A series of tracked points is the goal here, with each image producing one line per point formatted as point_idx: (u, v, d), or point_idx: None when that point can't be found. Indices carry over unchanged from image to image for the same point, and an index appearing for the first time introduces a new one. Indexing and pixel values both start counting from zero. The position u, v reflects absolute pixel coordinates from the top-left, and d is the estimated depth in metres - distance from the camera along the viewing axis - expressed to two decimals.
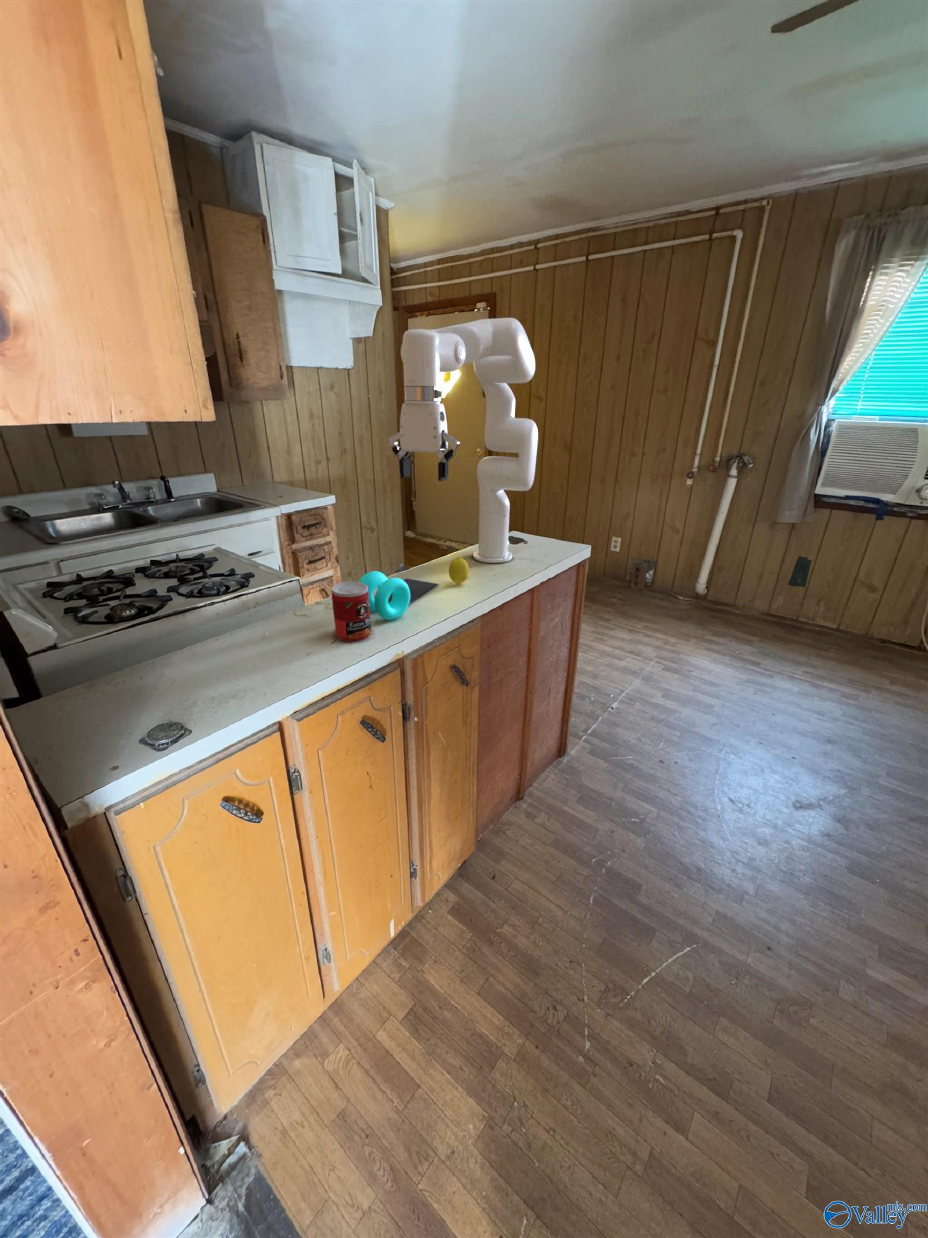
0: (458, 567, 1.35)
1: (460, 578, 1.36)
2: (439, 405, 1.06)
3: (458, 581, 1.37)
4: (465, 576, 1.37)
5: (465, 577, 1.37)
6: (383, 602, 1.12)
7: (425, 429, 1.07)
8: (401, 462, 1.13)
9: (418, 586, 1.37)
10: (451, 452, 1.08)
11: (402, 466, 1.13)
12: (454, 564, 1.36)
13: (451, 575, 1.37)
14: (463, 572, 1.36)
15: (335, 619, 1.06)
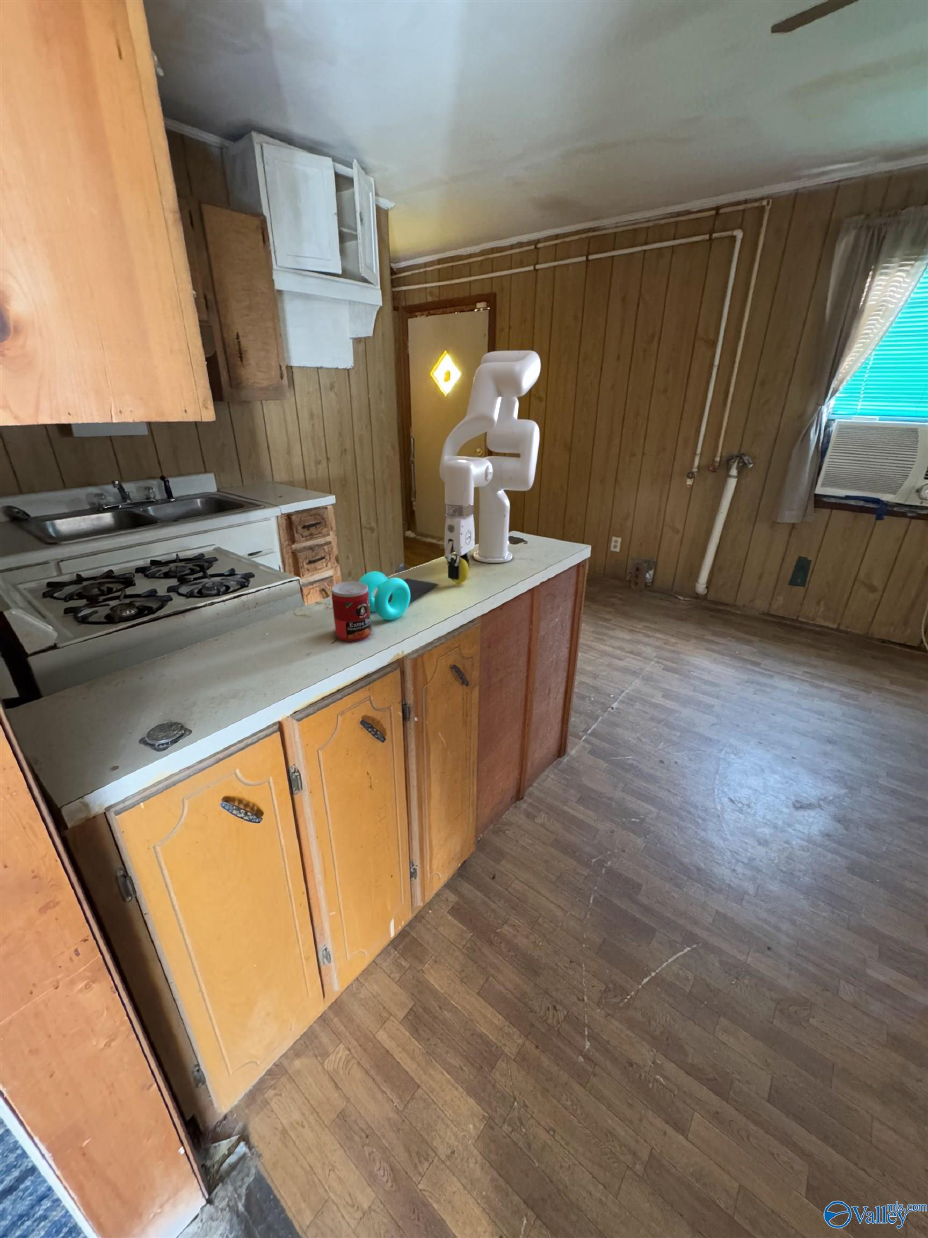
0: None
1: (460, 578, 1.36)
2: (450, 519, 1.29)
3: (458, 581, 1.37)
4: (465, 576, 1.37)
5: (465, 577, 1.37)
6: (383, 602, 1.12)
7: None
8: None
9: (418, 586, 1.37)
10: None
11: None
12: None
13: None
14: (463, 572, 1.36)
15: (335, 619, 1.06)
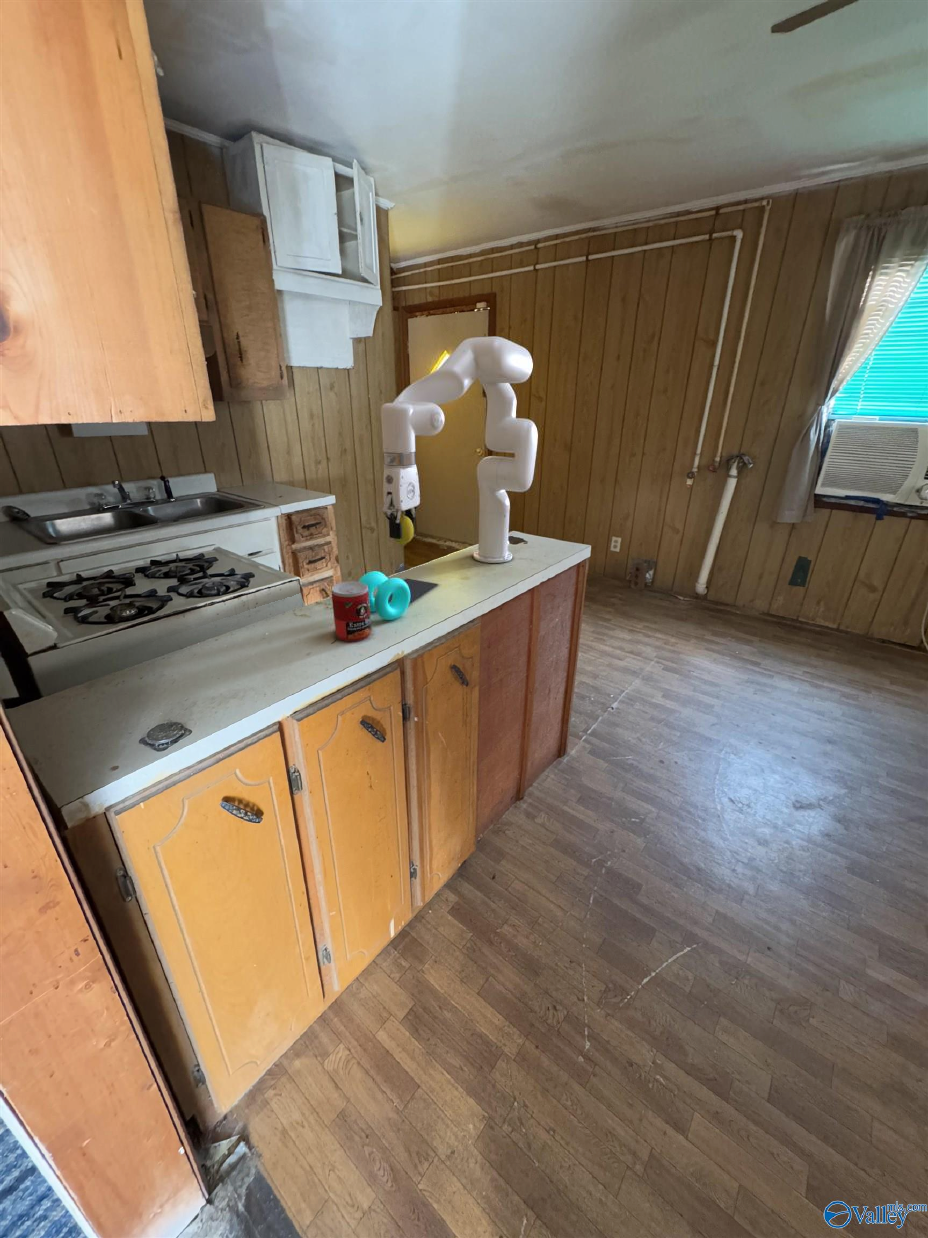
0: (401, 525, 1.22)
1: (403, 537, 1.23)
2: (388, 469, 1.15)
3: (401, 541, 1.24)
4: (409, 535, 1.24)
5: (409, 537, 1.24)
6: (383, 602, 1.12)
7: None
8: None
9: (418, 586, 1.37)
10: (385, 514, 1.19)
11: None
12: None
13: None
14: (406, 531, 1.23)
15: (335, 619, 1.06)
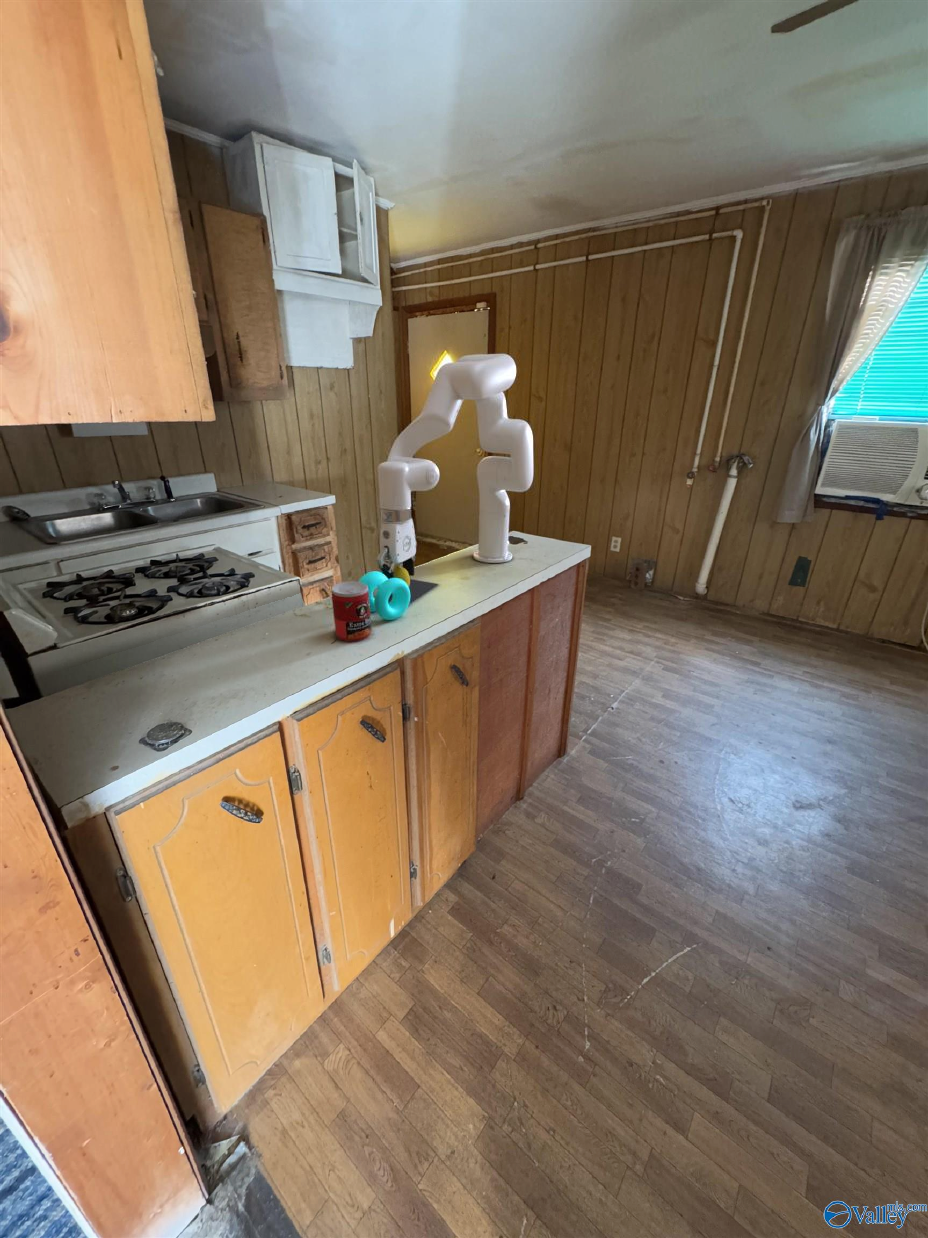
0: (397, 576, 1.27)
1: None
2: (384, 525, 1.20)
3: None
4: None
5: None
6: (383, 602, 1.12)
7: None
8: None
9: (418, 586, 1.37)
10: None
11: (403, 565, 1.33)
12: None
13: None
14: None
15: (335, 619, 1.06)
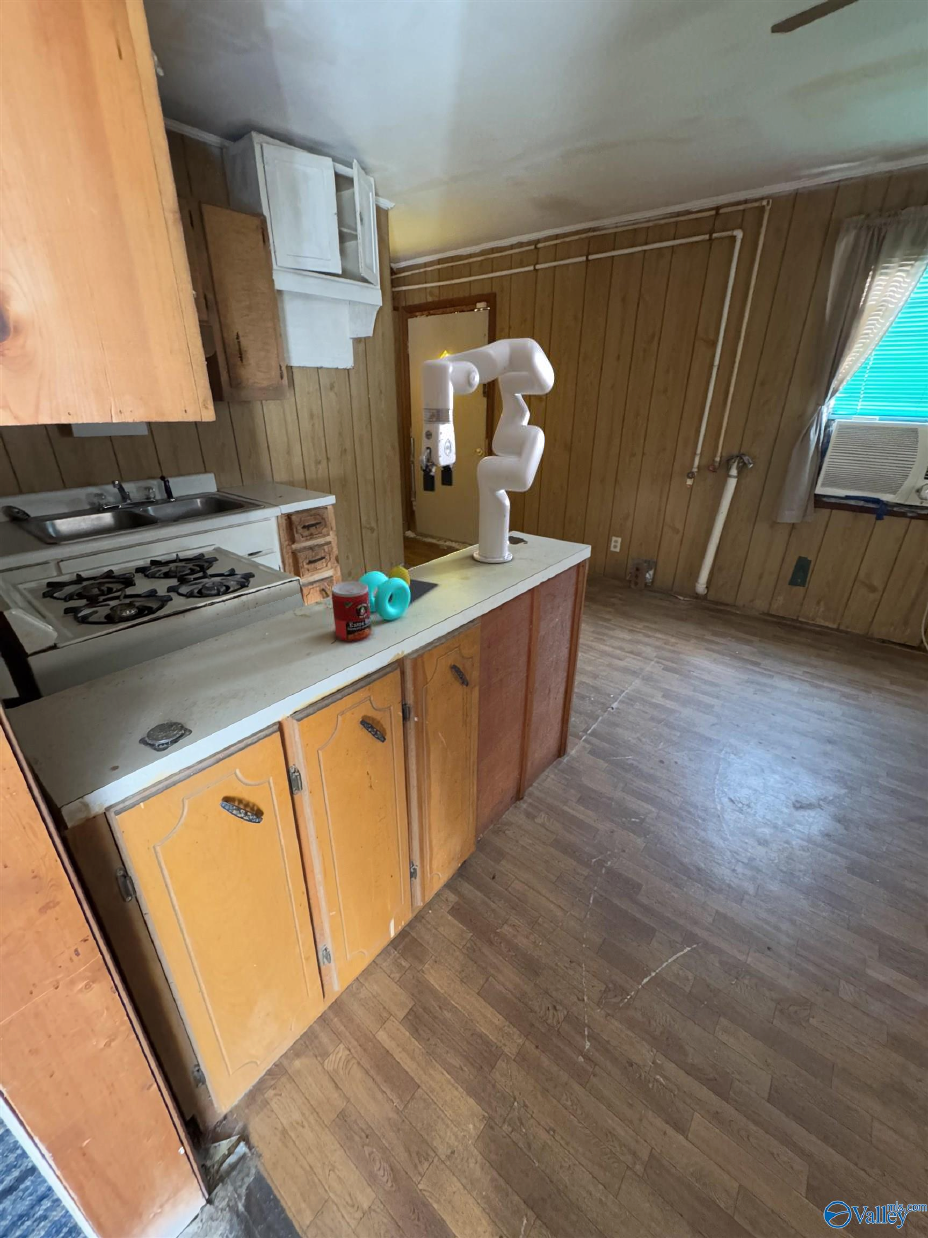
0: (397, 576, 1.27)
1: None
2: (427, 425, 1.20)
3: None
4: None
5: None
6: (383, 602, 1.12)
7: None
8: None
9: (418, 586, 1.37)
10: (420, 466, 1.21)
11: (441, 475, 1.33)
12: (393, 573, 1.27)
13: None
14: None
15: (335, 619, 1.06)
